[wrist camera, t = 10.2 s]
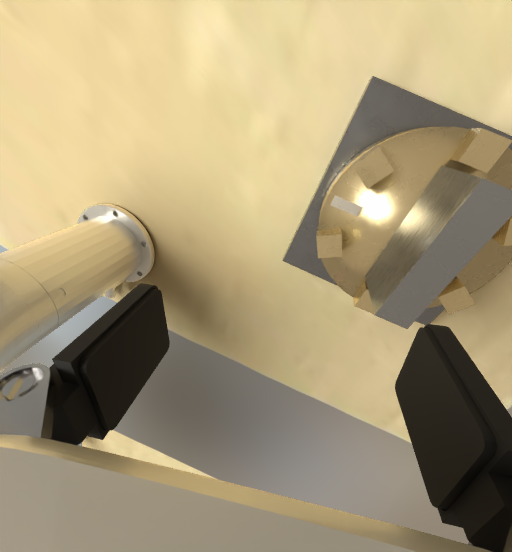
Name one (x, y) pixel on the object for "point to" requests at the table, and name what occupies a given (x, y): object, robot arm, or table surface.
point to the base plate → (359, 135)
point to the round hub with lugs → (419, 221)
